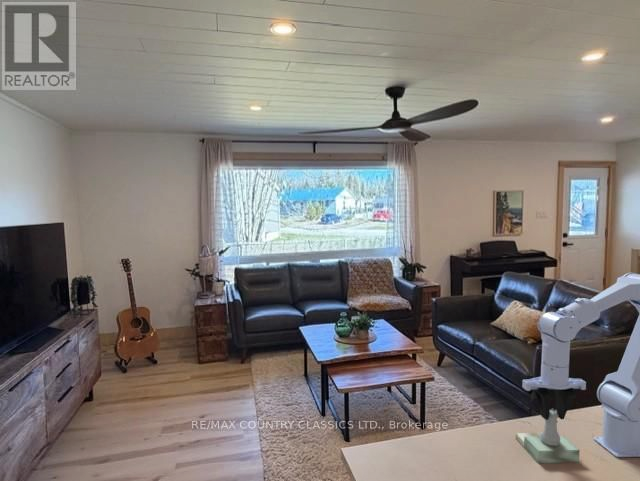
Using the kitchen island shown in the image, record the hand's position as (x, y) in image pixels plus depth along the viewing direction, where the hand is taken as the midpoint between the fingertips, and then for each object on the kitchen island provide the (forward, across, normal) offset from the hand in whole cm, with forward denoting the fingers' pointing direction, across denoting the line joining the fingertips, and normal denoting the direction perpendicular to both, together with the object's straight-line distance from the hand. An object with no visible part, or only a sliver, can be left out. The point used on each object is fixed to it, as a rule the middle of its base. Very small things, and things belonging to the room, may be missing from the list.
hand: (552, 417), depth 98 cm
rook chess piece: (+7, 0, 0) cm, 7 cm away
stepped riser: (+10, 0, -2) cm, 10 cm away
